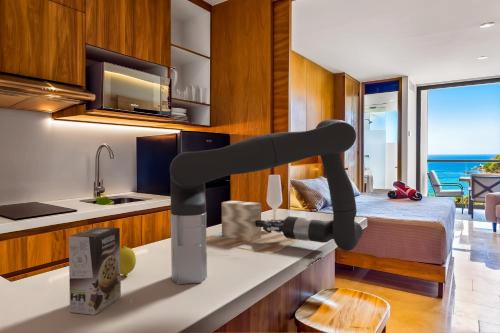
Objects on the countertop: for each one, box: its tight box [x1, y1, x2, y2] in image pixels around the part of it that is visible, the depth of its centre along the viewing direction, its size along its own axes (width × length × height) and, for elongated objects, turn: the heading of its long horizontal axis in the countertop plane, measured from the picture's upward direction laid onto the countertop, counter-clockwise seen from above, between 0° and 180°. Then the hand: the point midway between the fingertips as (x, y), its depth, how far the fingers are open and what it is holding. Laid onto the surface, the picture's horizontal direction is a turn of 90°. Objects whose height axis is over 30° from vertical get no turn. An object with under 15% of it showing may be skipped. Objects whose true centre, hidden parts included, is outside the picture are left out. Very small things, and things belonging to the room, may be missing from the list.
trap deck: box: [206, 230, 300, 255], centre depth 123 cm, size 32×26×2 cm
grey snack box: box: [68, 226, 122, 316], centre depth 72 cm, size 9×6×16 cm
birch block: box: [221, 200, 262, 241], centre depth 125 cm, size 14×6×13 cm, turn 56°
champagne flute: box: [266, 174, 283, 220], centre depth 139 cm, size 7×7×24 cm
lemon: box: [120, 245, 137, 277], centre depth 89 cm, size 6×6×8 cm
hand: (256, 223), depth 121 cm, fingers closed
